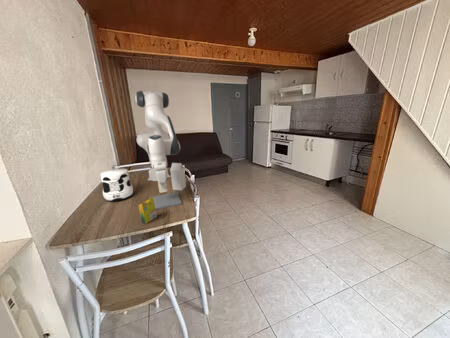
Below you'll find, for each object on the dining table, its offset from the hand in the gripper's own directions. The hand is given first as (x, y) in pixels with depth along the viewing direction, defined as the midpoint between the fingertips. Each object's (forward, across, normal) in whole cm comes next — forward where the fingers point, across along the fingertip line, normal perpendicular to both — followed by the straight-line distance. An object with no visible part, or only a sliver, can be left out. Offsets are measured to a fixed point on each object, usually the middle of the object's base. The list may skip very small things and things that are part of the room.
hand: (162, 186), depth 113 cm
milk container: (+10, -21, -27) cm, 36 cm away
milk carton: (+10, -18, +12) cm, 24 cm away
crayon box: (+10, +19, -9) cm, 23 cm away
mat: (+10, 0, 0) cm, 10 cm away
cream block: (+3, 0, 0) cm, 3 cm away
